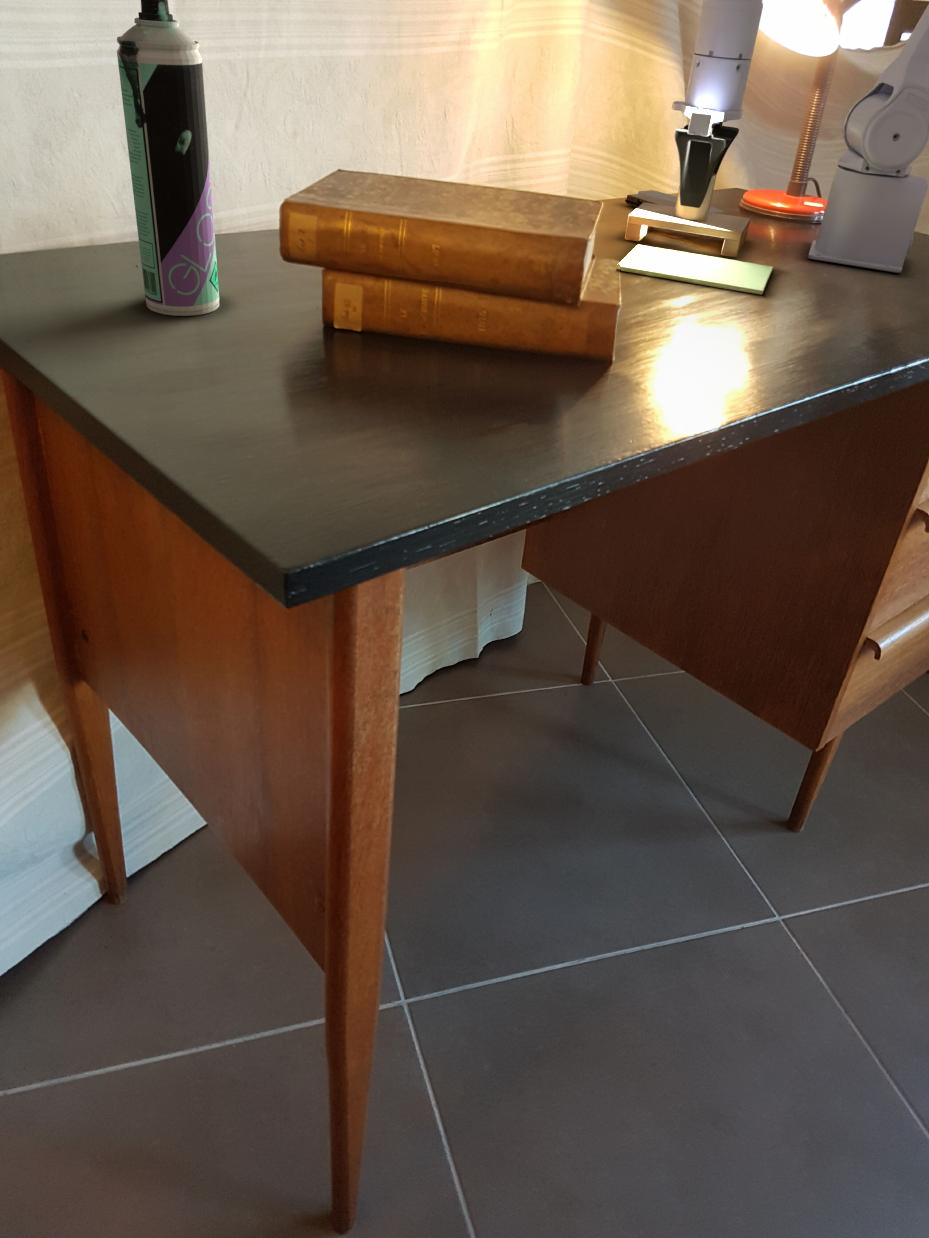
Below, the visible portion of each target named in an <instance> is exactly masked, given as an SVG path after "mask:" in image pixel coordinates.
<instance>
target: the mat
mask: <svg viewBox="0 0 929 1238" xmlns="http://www.w3.org/2000/svg"><path fill="white" fill-rule="evenodd" d="M618 264H619V265H620V270H621V271H620V270H619V271H620V272H625V273H626V272H627V273H632V274H633V273H634V274H638V275H645V276H648V277H649V276H650V277H656V278H661V279H668V280H673V281H679V282H685V283H690V284H695V285H696V284H697V285H702V286H706V287H707V286H709V287H714V288H720V289H725V290H732V291H737V292H742V293H749V294H755V295H760V296H762V295H763V293H764V291H765V288H766V286H767V284H768V281H769V279H770V277H771V274H772V272H773V268H774V266H773V265H772V266H771V265H765V264H759V263H754V262H747V261H741V260H736V259H728V258H723V257H717V256H711V255H704V254H698V253H692V252H687V251H682V250H681V251H680V250H674V249H668V248H662V247H655V246H650V245H643V244H637V245H635V247H634V248H632V250H631V251H630V252H628V253H627V254H626V256H625V257H623V259H621V261H619V262H618Z"/></svg>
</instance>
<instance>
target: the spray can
mask: <svg viewBox="0 0 929 1238" xmlns="http://www.w3.org/2000/svg"><path fill="white" fill-rule="evenodd" d="M140 10H141V11H138V13H137V14H138V17H135V18H134V20H133V21H134V25H132V26H131V27H130V28H128V29H127V30H126V31H125V32H124V33H123V34H122V35H120V36H117V37H116V42H117V44H118V45H119V46H118V48H117V50H116V56H117V57H116V58H117V67H118V73H119V74H118V75H119V82H120V90H121V92H120V93H121V100H122V108H123V117H124V125H125V126H124V127H125V134H126V142H127V150H128V151H127V152H128V158H129V159H128V160H129V169H130V177H131V185H132V186H131V187H132V195H133V202H134V209H135V210H134V211H135V219H136V229H137V238H138V245H139V255H140V264H141V273H142V279H143V281H142V282H143V288H144V289H143V290H144V296H145V297H144V298H145V302H146V303H145V304H146V307H147V309H148V310H150V311H152V312H155V313H156V314H161V315H167V316H175V317H177V316H178V317H190V316H191V317H192V316H200V315H206V314H209V313H212V312H214V311H216V310H217V309H219V308H220V290H219V274H218V263H217V262H218V261H217V249H216V236H215V234H216V233H215V222H214V221H215V220H214V208H213V194H212V178H211V166H210V152H209V140H208V139H209V137H208V124H207V123H208V122H207V110H206V109H207V108H206V97H205V84H204V83H205V82H204V69H203V56H202V55H201V54H200V52H199V48H200V42H199V41H197V40H194V39H193V38H192V37H191V36H190V35H189V34H188V33H186V32H185V31H184V30H183V29H182V28H180V27H179V26H180V22H179V20H175V19H174V15H173V14H172V13H170V7H169V0H140Z"/></svg>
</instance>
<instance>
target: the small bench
mask: <svg viewBox="0 0 929 1238" xmlns="http://www.w3.org/2000/svg"><path fill="white" fill-rule="evenodd" d="M674 211H675V207H672V206H665V205H659V204H652V203H646V202H644V203H642V204H641V205H640V206H639V207H638V208H635V209H634V210H633V211H632V212H630V213H629V214H628V216H627V223H626V228H625V235H624V240H627V241H631V242H632V241H633V242H640V241H641V240H642V239H643V238H644V237H645V236H647V234H648V233H650V232H651V230H652V229H653V228H657V229H658V228H659V229H665V230H671V231H677V232H683V233H689V234H690V233H691V234H696V235H702V236H709V237H715V238H720V239H724V240H723V244H722V248H721V253H720V255H721V256H724V257H730V258H737V257H738V255H739V253H740V252H741V250H742V249H743V247H744V244H745V243H746V240H747V236H748V231H749V227H750V223H751V218H749V217H743V216H737V215H730V214H729V215H728V214H725V213H723V214H718V213H711V212H709V213H708V218H707V220H702V221H695V220H686V219H682V218H678V217H676V216H675V215H674Z"/></svg>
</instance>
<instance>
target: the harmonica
mask: <svg viewBox="0 0 929 1238" xmlns="http://www.w3.org/2000/svg"><path fill="white" fill-rule="evenodd" d="M676 201H677V196H675V195H673V194H669V193H665V192H662V191H660V190H659V191H658V190H655V189H654V190H651V189H650V190H639V191H638V192H637V193H633V194H627V195H626V199H625V200H624V202H625V204H627V205H628V206H632V207H634V208H635V207H636V208H638V207H639V206H640V205H641V204H642V203H644V202H646V203H652V204H659V205H665V206H672V207H675V206H676ZM636 208H635V209H636ZM709 212H711V213H718V214H725V211H724V210H722V209H720V208H718V207H717V208H716V207H713V206H710V209H709Z"/></svg>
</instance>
